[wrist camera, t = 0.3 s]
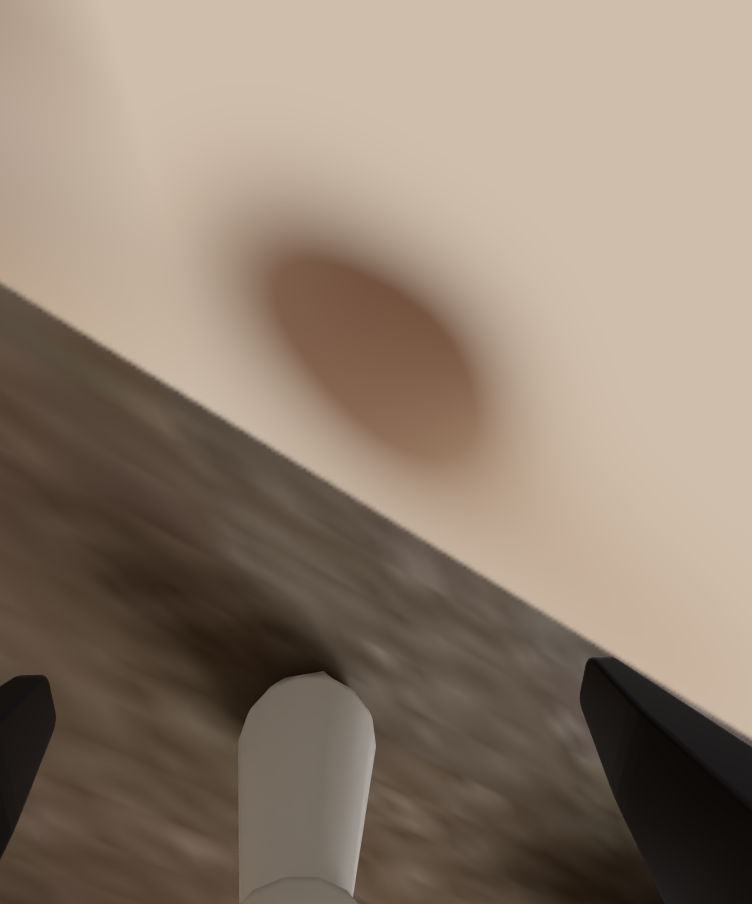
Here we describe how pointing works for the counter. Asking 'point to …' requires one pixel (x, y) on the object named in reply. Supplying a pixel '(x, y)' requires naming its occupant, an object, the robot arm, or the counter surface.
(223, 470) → the counter surface
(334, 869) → the salt shaker
